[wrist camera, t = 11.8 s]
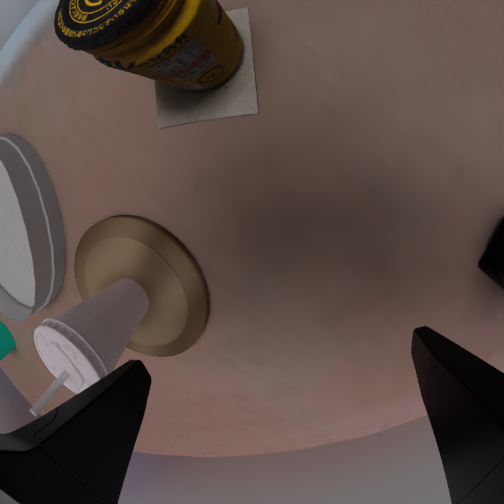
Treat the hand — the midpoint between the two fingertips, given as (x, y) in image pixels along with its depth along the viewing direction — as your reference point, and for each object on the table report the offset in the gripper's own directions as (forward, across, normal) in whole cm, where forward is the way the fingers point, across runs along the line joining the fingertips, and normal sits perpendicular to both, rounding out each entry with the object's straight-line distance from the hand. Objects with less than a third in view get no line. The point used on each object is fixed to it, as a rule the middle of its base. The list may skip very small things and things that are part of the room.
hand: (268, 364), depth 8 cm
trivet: (+14, +14, +3) cm, 20 cm away
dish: (+15, +31, -8) cm, 35 cm away
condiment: (+14, +3, -13) cm, 19 cm away
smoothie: (+13, +14, +3) cm, 19 cm away
